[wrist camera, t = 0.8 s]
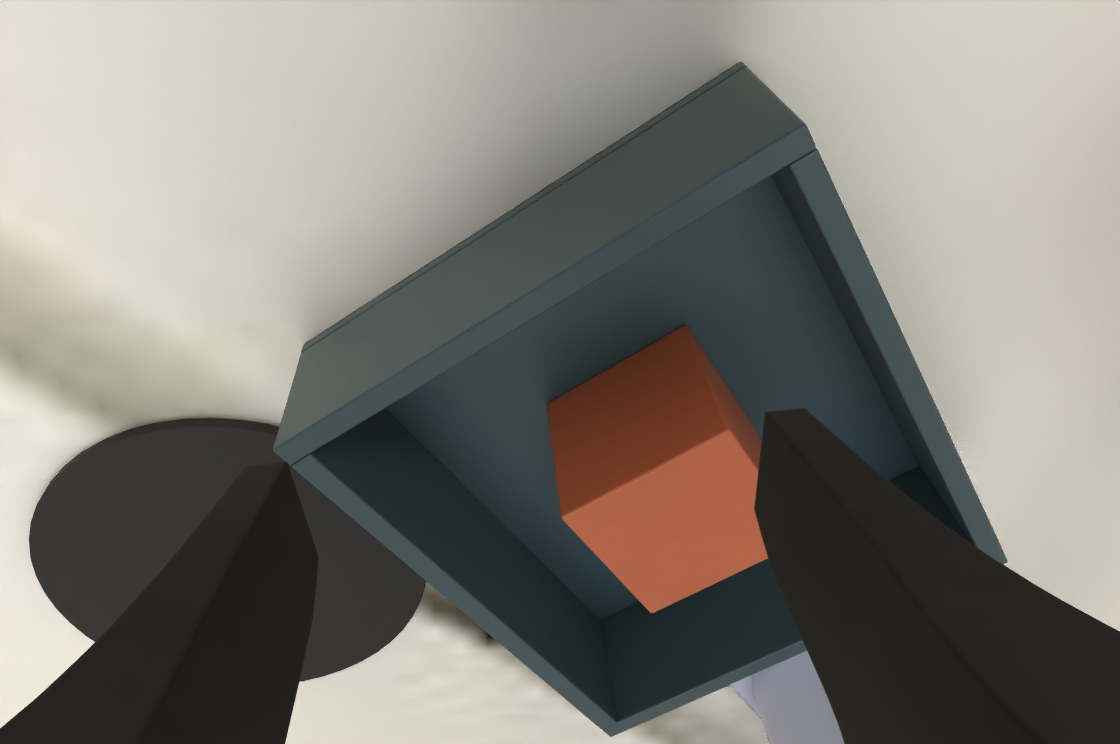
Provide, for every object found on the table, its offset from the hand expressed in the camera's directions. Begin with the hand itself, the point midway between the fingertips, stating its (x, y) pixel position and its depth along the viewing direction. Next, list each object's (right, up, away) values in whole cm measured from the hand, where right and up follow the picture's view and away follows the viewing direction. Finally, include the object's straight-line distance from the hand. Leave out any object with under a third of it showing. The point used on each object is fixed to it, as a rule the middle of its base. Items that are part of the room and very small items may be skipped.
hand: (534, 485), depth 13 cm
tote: (+3, +1, +12) cm, 12 cm away
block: (+3, 0, +12) cm, 12 cm away
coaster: (-10, -5, +14) cm, 18 cm away
